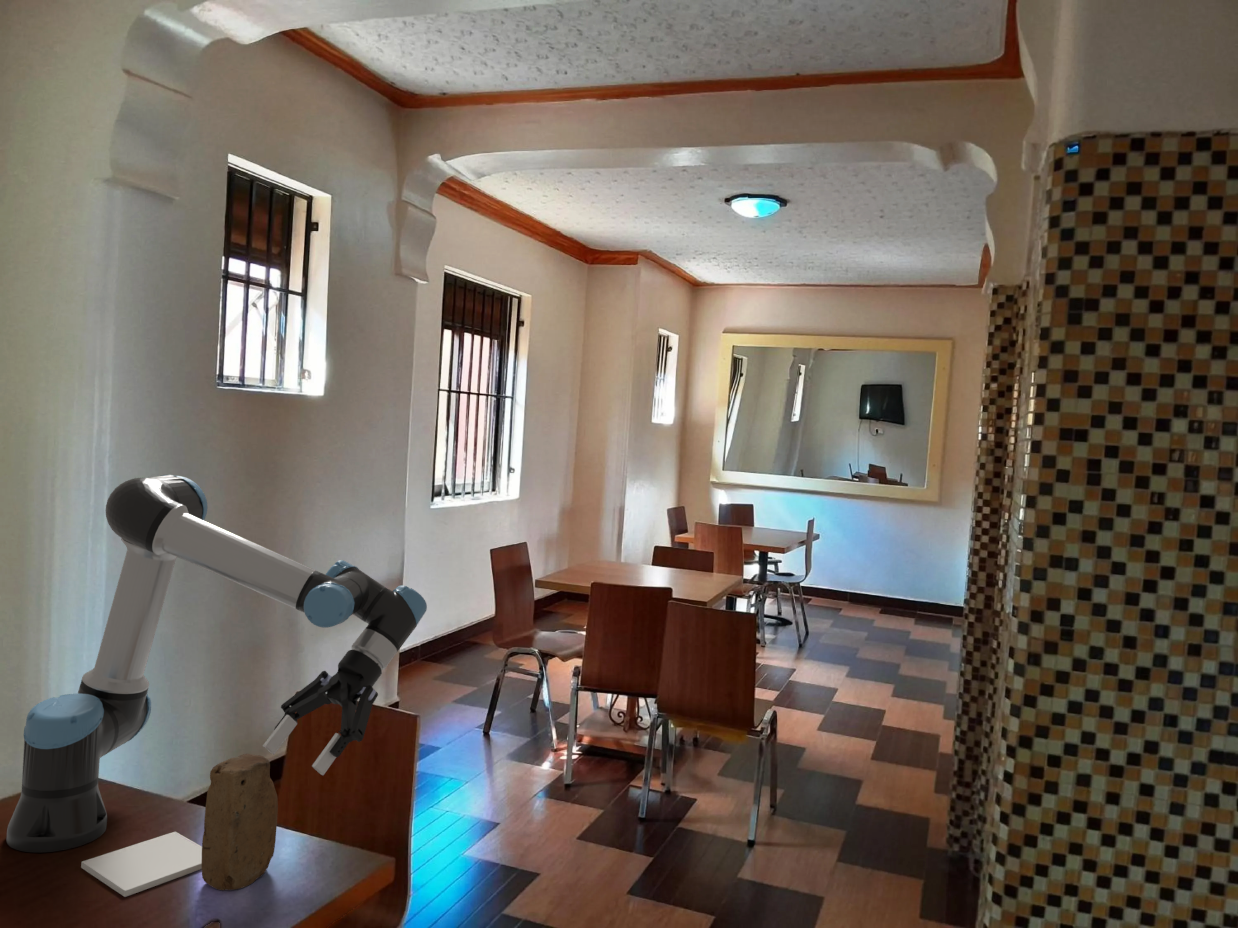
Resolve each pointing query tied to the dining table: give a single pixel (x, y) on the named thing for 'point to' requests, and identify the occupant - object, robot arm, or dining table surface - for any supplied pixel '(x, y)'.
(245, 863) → the block
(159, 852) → the mat
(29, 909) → the dining table surface
